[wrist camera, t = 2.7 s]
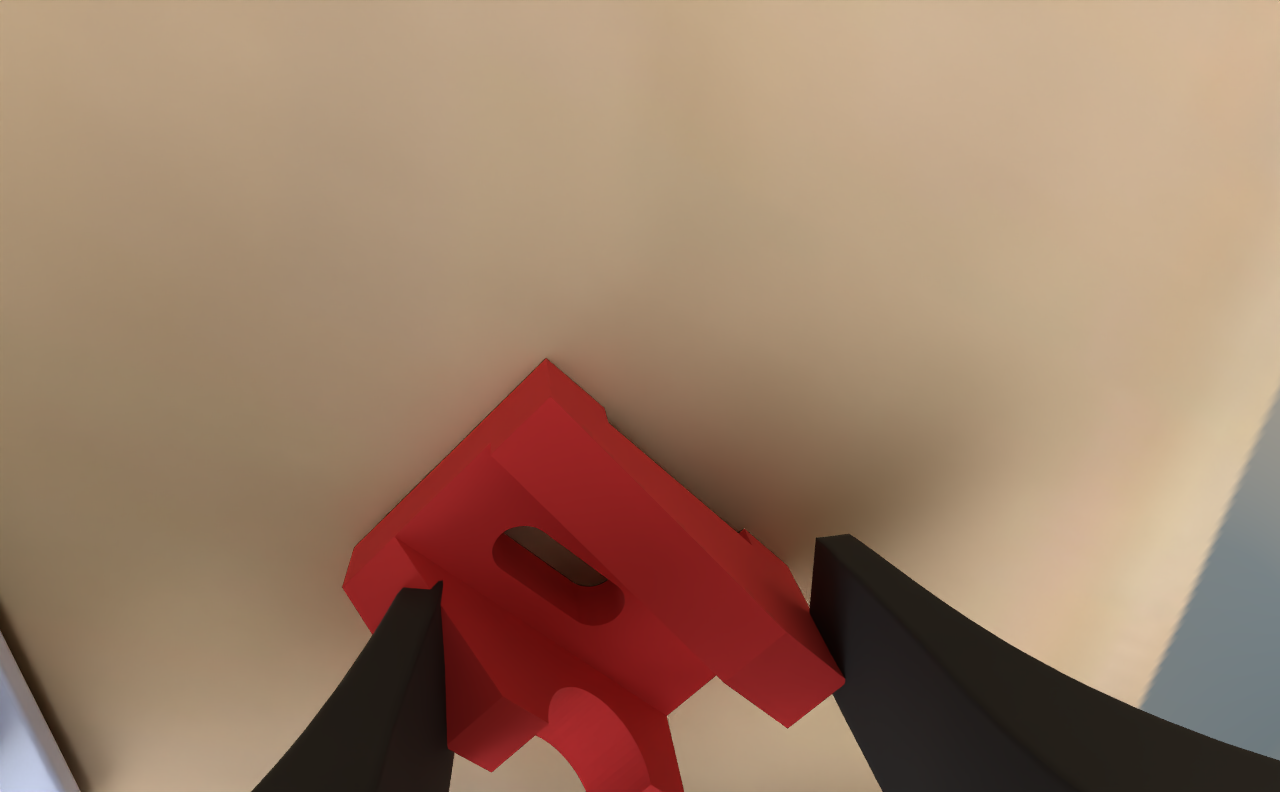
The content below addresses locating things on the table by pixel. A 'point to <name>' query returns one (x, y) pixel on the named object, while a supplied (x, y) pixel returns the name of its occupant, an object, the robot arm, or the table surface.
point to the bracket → (587, 594)
